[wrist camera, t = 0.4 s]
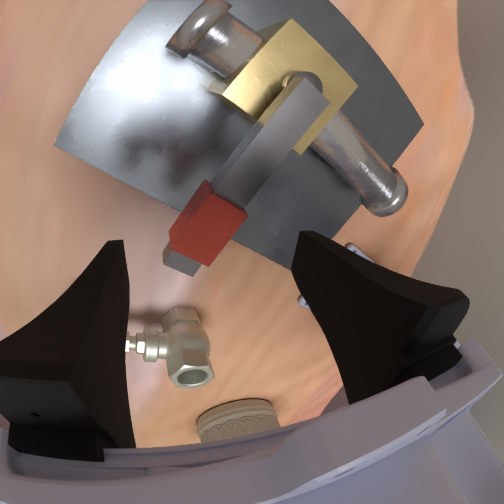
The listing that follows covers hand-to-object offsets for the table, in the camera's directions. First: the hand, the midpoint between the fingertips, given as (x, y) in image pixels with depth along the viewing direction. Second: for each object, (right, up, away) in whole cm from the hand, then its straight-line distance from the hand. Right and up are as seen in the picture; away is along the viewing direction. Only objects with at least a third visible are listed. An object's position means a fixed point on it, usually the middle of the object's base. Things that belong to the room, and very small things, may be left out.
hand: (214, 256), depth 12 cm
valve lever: (+1, +4, +2) cm, 5 cm away
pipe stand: (+3, +10, +6) cm, 12 cm away
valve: (-9, -5, +13) cm, 17 cm away
